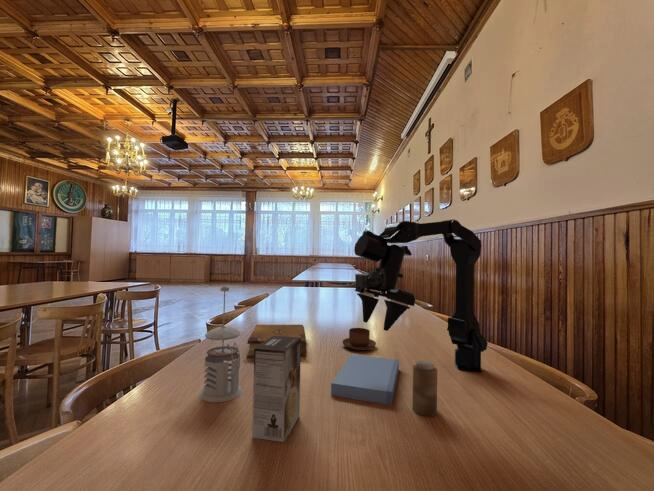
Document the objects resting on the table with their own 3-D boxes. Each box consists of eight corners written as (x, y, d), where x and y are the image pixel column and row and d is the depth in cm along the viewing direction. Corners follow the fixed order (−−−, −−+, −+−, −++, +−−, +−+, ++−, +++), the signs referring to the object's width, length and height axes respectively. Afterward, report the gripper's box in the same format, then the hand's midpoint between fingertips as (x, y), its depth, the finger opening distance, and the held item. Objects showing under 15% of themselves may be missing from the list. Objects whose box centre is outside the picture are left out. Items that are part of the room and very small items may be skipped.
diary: (306, 358, 96) (306, 340, 97) (246, 359, 94) (247, 341, 94) (303, 338, 119) (304, 324, 119) (255, 339, 117) (256, 324, 117)
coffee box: (270, 412, 62) (272, 334, 63) (300, 416, 61) (302, 336, 62) (250, 438, 53) (253, 347, 54) (284, 443, 52) (287, 350, 53)
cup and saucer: (343, 341, 115) (344, 325, 115) (375, 343, 113) (375, 327, 114) (340, 351, 103) (341, 333, 103) (376, 354, 101) (376, 335, 102)
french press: (231, 379, 78) (234, 283, 79) (254, 395, 70) (257, 287, 70) (192, 391, 71) (196, 285, 72) (213, 410, 63) (217, 290, 63)
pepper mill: (436, 407, 66) (436, 361, 66) (437, 418, 61) (438, 369, 62) (412, 403, 68) (413, 358, 68) (412, 414, 63) (412, 366, 63)
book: (398, 370, 88) (398, 359, 88) (391, 406, 66) (392, 392, 67) (351, 364, 92) (351, 354, 92) (330, 396, 71) (331, 382, 71)
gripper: (346, 257, 84) (331, 312, 82) (386, 259, 67) (369, 328, 65) (378, 268, 88) (364, 321, 86) (423, 272, 71) (408, 338, 69)
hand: (374, 326), depth 76 cm, fingers open, 9 cm apart
